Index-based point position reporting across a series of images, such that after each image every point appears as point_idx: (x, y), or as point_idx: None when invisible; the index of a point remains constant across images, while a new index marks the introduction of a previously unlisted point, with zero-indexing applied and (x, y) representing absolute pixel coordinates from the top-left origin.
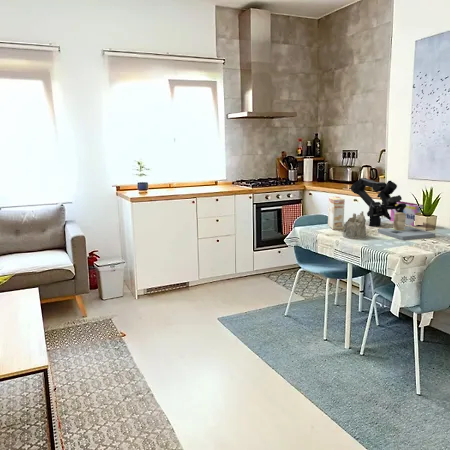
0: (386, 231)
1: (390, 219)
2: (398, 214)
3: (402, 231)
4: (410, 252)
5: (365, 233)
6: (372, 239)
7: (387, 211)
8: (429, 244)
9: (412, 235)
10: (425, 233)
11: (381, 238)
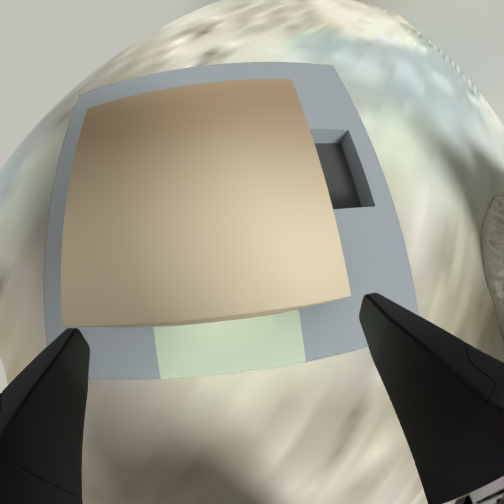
0: (391, 212)
1: (371, 296)
2: (295, 117)
3: None
4: (359, 9)
5: (498, 212)
6: (462, 150)
7: (497, 398)
8: (243, 19)
9: (257, 63)
10: (129, 92)
11: (426, 146)
